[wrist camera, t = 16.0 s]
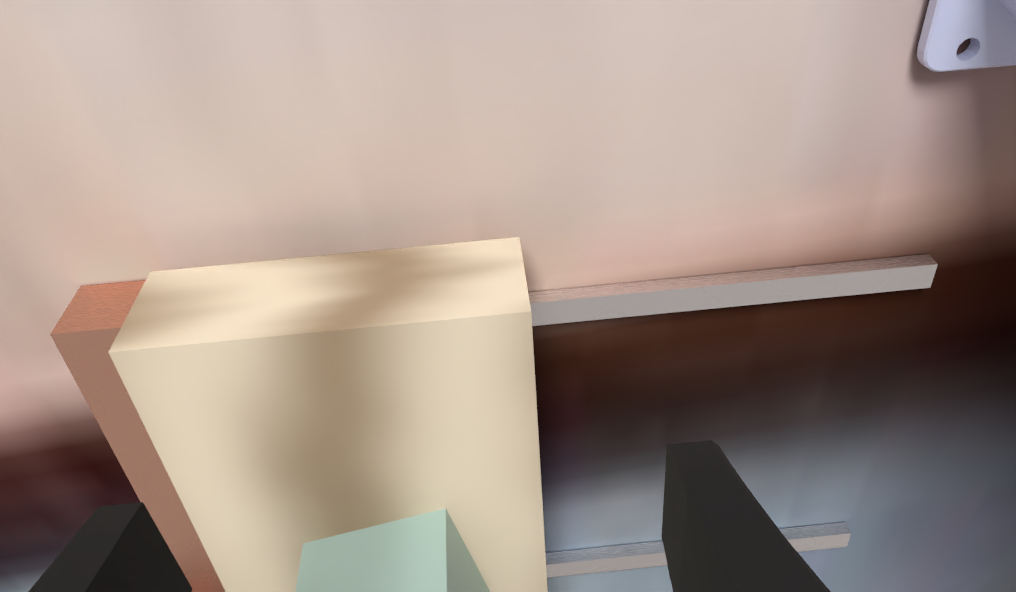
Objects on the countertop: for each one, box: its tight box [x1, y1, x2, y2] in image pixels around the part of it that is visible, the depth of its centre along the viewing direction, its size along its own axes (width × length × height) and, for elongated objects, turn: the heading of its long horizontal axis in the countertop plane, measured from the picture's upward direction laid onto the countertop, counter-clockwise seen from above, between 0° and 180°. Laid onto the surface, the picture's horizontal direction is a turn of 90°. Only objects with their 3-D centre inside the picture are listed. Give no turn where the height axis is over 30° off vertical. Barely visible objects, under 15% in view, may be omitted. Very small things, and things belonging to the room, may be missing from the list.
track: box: [50, 254, 938, 592], centre depth 25 cm, size 23×16×2 cm
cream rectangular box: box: [108, 237, 548, 592], centre depth 23 cm, size 9×18×4 cm, turn 4°
